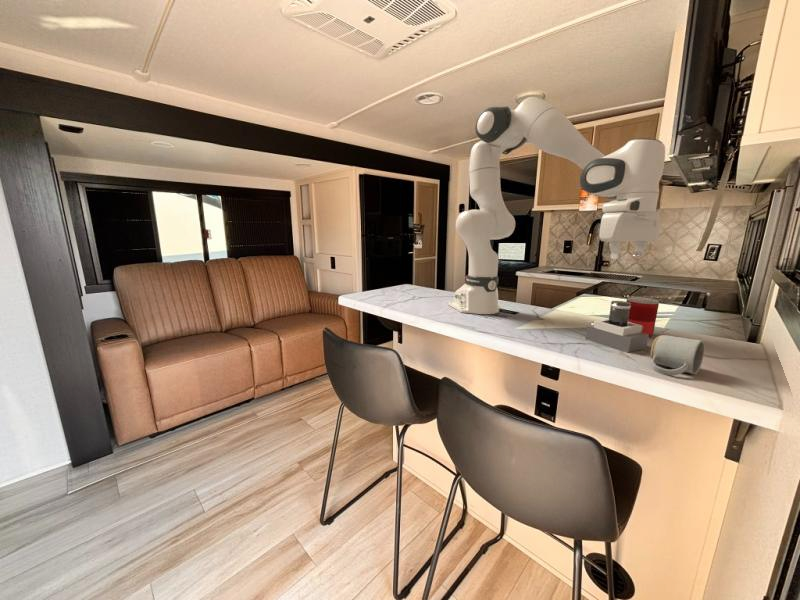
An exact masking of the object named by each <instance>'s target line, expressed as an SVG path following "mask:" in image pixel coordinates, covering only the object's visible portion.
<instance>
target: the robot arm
mask: <svg viewBox="0 0 800 600" xmlns="http://www.w3.org/2000/svg"><path fill="white" fill-rule="evenodd" d="M475 134H476V136H477V137H478V139H479V140H480V141H478V142H476V143H474V144H473V146H472V148H471V150H470V155H469V164H468V165H469V171H468V173H469V174H468V176H469V194H470V197H471V198H472V199H473V200H474V201H475V202H476V204H477V205H478V207H479V209H469V210H465V211H462V212H460V213H459V214H458V216H457V218H456V220H455V231H456V233H457V235H458V236H459V237H460V238H461V239H462V240H463V242H464V243H465V244H464V245H466V249H467V254H468V274H467V275H463V276H464V278H463V279H465V281H464V284H463V285H462V286H461V287H459V288H457V290H456V291H455V292H454V295H453V296H454V297H453V300H452V301H448V303H447V305H448V306H450V307H452V308H453V309H455V310H456V311H458V312H460V313H463V314H464V313H465V314H477V315H493V314H494V315H495V314H498V313H499V312H500V308H501V307H500V305H499V289H498V287H497V286H498V285H499V276H498V272H499V271H498V270H499V255H498V253H497V252H496V251H494V250H493V248H492V244H491V240H495V241H496V240H502V239H505V238H509V237H510V236H511V235H512V234H513V233H514V231H515V230H516V229H515V228H516V220H515V217H514V216H513V215H512V214H511V213H510V211H509V210H508V208H507V206H506V204H505V201H504V198H503V195H502V188H501V167H500V160H501V159H500V158H501V156H502V154H503V155H509V154H510V153H511V152H513V151H515V150H517V149H519V148H520V147H522V146H524V144H525V143H526V142H527V141H528V142H529V143H530V145H532V146H533V147H535V148H537V149H539V150H540V151H542V152H544V153H546V154H549V155H554V156H557V157H560V158H563V159H566V160H569V161H570V162H572V163H574V164H575V165H577V166H578V167H579V168H580V169H581V170H582V171H581V173H580V177H579V185H580V187H581V189H582V190H583V191H584V192H586V193H588V194H591V195H593V196H594V195H595V196H599V197H603V198H606V199H609V200H611V201H609V202H606V203H604V204H603V206H602V213H603V215H602V217H601V220H600V226H599V239H600V241H601V242H608V243H609V245H608V247H609V251H610V252H611V253H610V259H611V260H620V259H621V258H622V252H621V251H620V247H621V245H622V243H623V242H624V243H627V242H636V243H635V246H636V247H635V249H634V251H632V256H631V257H632V258H633V259H643V255H644V254H643V253H644V252H645V250H646V248H647V247H648V243H649V242H656V241H657V240H658V239H659V237H660V231H661V215H660V214H659V211H658V210H657V205H658V200H659V195H660V180H661V178H662V177H663V174H664V173H663V172H664V169H665V163H666V162H665V160H666V159H665V158H666V146H665V143H663V142H662V141H661V140H659V139H656V138H650V137H644V138H643V137H642V138H641V137H639V138H635V139H631V140H629V141H628V142H626V143H625V144H624V145H623V146H622V147H620V148H618V149H617V150H614V151H613V152H612V153H611V152H610V153H609V154H607V155H606V154H604V153H603V152H602V151H600V150H599V149H598V148H597V147H595V146H594V145H593V144H592V143H591V142H589V141H588V140H587V139H586V138H585V137H584V136H583V135H582V133H581V132H580V131H579V130H578V129H577V128H576V127H575V125H574V124H573V123H572V122H571V120H570V119H569V118H568V117H567V115H565V113H563V112H562V111H561V110H560V109H559V108H557V107H555V106H554V105H553V104H551V103H550V102H548V101H546V100H544V99H542V98H540V97H537V96H530V97H526V98H525V99H523V100H522V101H521V102H520V103H519V104H518V105H517V107H516V108H515V109H510V107H509V106H490V107H487V108H485V109H484V110H482V112H480V114H479V115H478V117H477V119H476V122H475Z"/></svg>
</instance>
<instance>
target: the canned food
mask: <svg viewBox="0 0 800 600" xmlns="http://www.w3.org/2000/svg"><path fill="white" fill-rule="evenodd" d="M625 302H629V303H631V308H630V311H629V317H628V322H630V323H634V324H639V325H642V328H641V332H642V333H645V334H649V336H648V338H649V337H651V336H652V335H653V334H654V331H655V326H656V322H657V321H656V320H657V315H658V311H659V305H660V304H659V303H660V301H659V300H658V299H655V298H650V297H644V296H643V297H642V296H629V297H627V298H626V300H625Z"/></svg>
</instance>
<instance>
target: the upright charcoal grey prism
mask: <svg viewBox="0 0 800 600" xmlns="http://www.w3.org/2000/svg"><path fill="white" fill-rule="evenodd" d="M630 308H631V303H629V302H626V300H611V301H610V310H609V316H608V319H609V321H608V324H612V325H615V326H619V327H627V323H628V317H629V311H630Z"/></svg>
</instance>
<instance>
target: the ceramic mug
mask: <svg viewBox="0 0 800 600" xmlns="http://www.w3.org/2000/svg"><path fill="white" fill-rule="evenodd" d="M650 348H651V349H650V359H651V366H652V369H653V370H654V371H656V372H657V373H660V374H662V375H665V376H679V375H681V374H682V373H687V374H691V375H696V374H697V373H698V372H699V370H700V368H701V365H702V363H703V361H704V360H703V358H704V355H705V343H704V341H703V340H700V339H694V338H686V337H681V336H680V337H679V336H673V335H665V334H663V335H658V336H657V337H655V338H654V340H653V342H652V344H651V347H650ZM658 365H660V366H661V367H660V366H658ZM662 366H663V367H667V368H670V369H666V368H663V367H662Z"/></svg>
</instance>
